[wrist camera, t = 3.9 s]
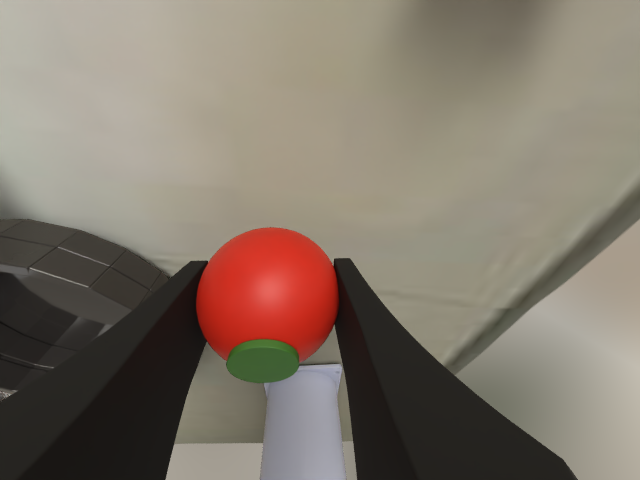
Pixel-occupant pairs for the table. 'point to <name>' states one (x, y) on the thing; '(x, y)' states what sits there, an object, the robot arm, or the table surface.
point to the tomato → (267, 303)
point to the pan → (61, 295)
